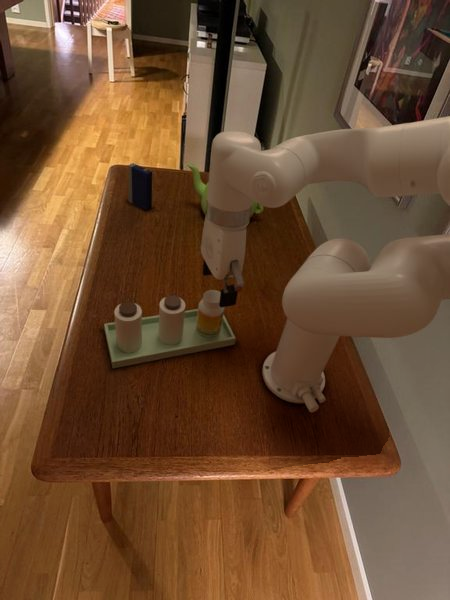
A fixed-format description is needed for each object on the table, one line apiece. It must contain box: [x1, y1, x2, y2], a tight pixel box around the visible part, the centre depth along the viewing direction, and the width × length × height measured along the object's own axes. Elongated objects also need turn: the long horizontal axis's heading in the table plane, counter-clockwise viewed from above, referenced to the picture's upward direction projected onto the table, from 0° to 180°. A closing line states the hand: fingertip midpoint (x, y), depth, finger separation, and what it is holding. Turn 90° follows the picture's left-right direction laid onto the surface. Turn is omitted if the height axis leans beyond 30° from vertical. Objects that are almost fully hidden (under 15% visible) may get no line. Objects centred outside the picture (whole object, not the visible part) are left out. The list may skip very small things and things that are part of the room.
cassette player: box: [127, 162, 153, 212], centre depth 117 cm, size 7×2×12 cm, turn 56°
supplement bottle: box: [196, 289, 226, 337], centre depth 83 cm, size 5×5×10 cm
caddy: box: [103, 308, 237, 369], centre depth 83 cm, size 25×10×2 cm, turn 111°
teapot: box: [185, 162, 264, 218], centre depth 120 cm, size 19×20×14 cm
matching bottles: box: [113, 295, 186, 353], centre depth 79 cm, size 5×14×10 cm, turn 111°
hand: (218, 289), depth 78 cm, fingers open, 9 cm apart
